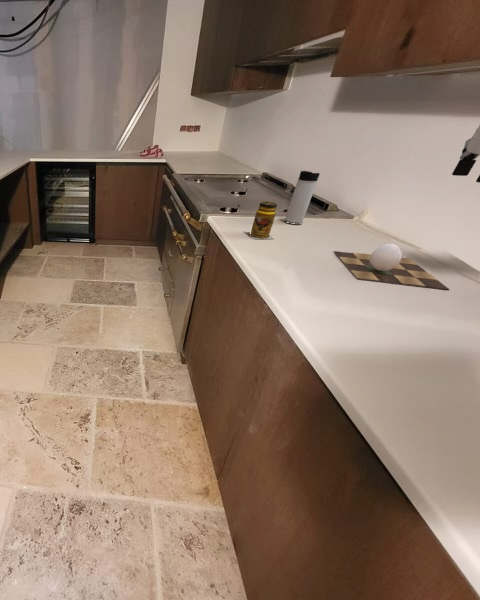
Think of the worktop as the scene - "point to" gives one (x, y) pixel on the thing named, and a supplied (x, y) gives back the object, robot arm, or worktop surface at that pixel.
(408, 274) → the checkerboard
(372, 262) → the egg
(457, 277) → the worktop surface
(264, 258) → the worktop surface
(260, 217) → the condiment
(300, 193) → the travel mug
